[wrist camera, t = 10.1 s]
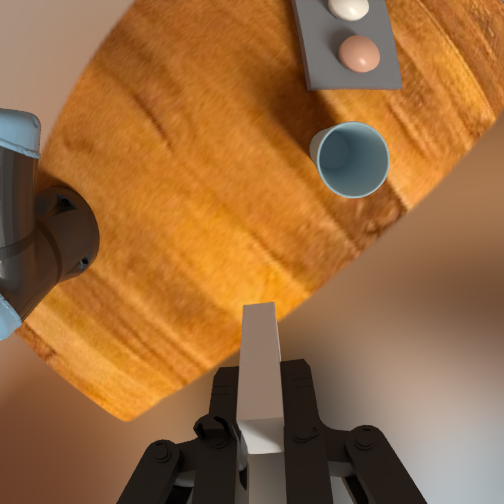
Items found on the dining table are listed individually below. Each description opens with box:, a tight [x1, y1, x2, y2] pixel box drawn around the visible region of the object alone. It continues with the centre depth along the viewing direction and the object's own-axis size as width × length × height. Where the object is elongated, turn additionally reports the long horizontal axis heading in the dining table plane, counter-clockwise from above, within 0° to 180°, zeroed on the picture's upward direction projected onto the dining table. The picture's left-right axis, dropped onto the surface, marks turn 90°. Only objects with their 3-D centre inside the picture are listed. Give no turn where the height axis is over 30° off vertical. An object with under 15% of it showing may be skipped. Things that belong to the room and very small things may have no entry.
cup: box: [309, 121, 390, 198], centre depth 31 cm, size 8×8×10 cm
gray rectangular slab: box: [291, 0, 402, 91], centre depth 26 cm, size 12×22×3 cm, turn 8°
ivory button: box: [328, 0, 369, 22], centre depth 24 cm, size 5×5×4 cm
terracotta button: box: [338, 35, 380, 73], centre depth 27 cm, size 5×5×4 cm
